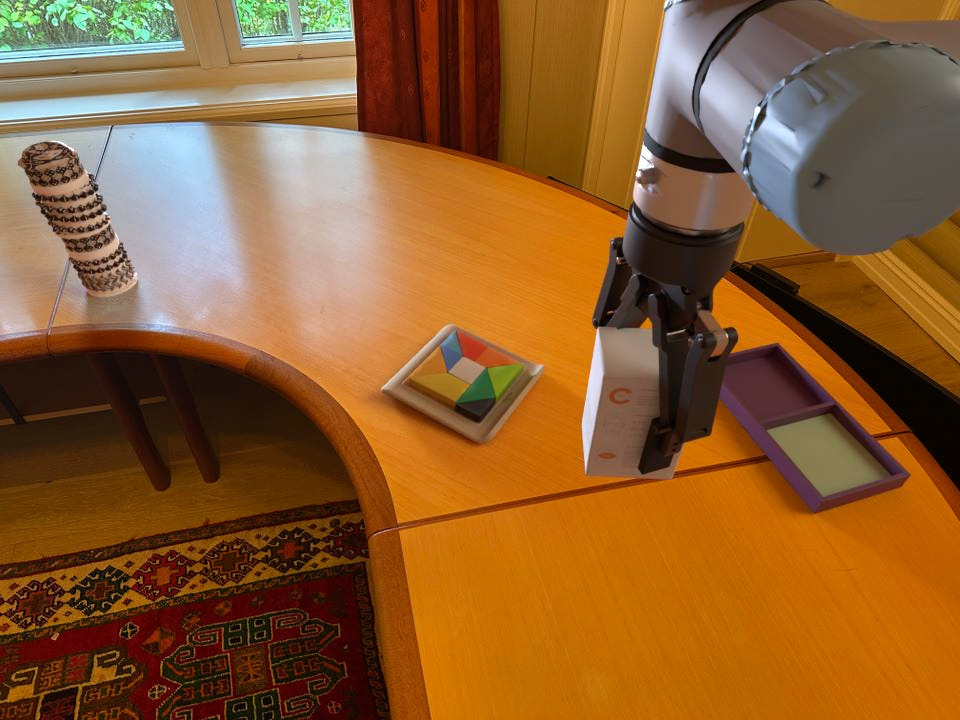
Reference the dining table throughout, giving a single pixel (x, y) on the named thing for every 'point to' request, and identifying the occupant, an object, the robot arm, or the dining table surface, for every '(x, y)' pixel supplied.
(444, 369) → the wooden puzzle
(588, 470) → the small box
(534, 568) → the dining table surface
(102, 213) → the decorative candle
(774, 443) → the purple divided tray
